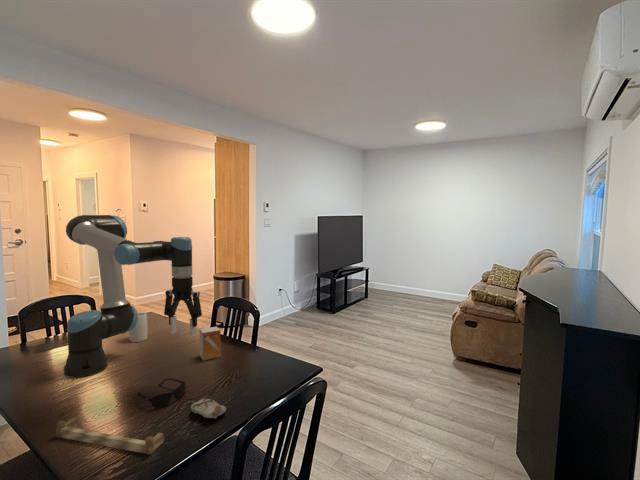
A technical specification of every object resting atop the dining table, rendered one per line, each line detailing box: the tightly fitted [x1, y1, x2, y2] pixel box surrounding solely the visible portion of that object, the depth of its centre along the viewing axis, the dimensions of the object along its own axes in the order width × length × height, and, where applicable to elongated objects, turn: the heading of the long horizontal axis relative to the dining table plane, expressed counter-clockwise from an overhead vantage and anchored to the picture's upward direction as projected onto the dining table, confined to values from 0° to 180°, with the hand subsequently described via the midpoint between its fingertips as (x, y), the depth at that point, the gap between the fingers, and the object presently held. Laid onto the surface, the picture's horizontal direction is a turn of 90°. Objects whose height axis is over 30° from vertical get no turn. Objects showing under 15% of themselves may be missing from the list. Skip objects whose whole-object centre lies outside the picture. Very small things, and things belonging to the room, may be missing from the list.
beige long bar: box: [56, 417, 165, 456], centre depth 100 cm, size 32×6×4 cm, turn 77°
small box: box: [199, 326, 221, 362], centre depth 159 cm, size 8×6×13 cm
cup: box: [128, 312, 148, 343], centre depth 176 cm, size 8×8×14 cm
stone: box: [190, 397, 227, 419], centre depth 113 cm, size 12×9×3 cm
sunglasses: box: [137, 377, 186, 409], centre depth 124 cm, size 14×16×5 cm
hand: (183, 333), depth 135 cm, fingers open, 8 cm apart
